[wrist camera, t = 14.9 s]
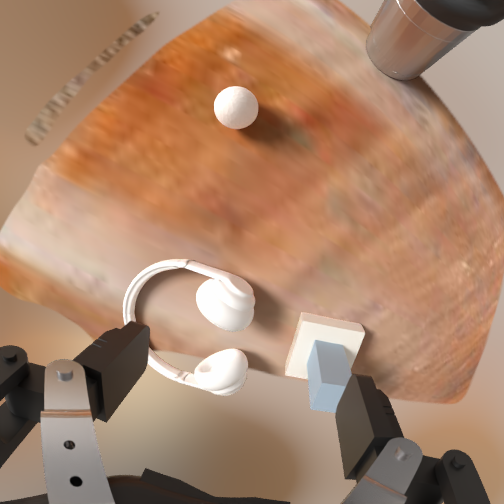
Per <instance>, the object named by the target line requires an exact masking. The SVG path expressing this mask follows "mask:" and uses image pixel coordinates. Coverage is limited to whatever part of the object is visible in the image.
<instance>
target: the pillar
mask: <svg viewBox="0 0 504 504" xmlns="http://www.w3.org/2000/svg"><path fill="white" fill-rule="evenodd" d="M307 373H308V385H309V397H310V409H312V410H319V411H325V412H334V413H336V408H337V405H338V403H339V400H340V398H341V396H342V394H343V392H344V390H345V388H346V385H347V383H348V381H349V379H350V377H351V376H352V373H351V370H350V367H349V363H348V360H347V357H346V354H345V351H344V348H343V345H341V344H335V343H330V342H325V341H319V340H315V341H314V344H313V347H312V350H311V353H310V356H309V358H308V361H307Z"/></svg>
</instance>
